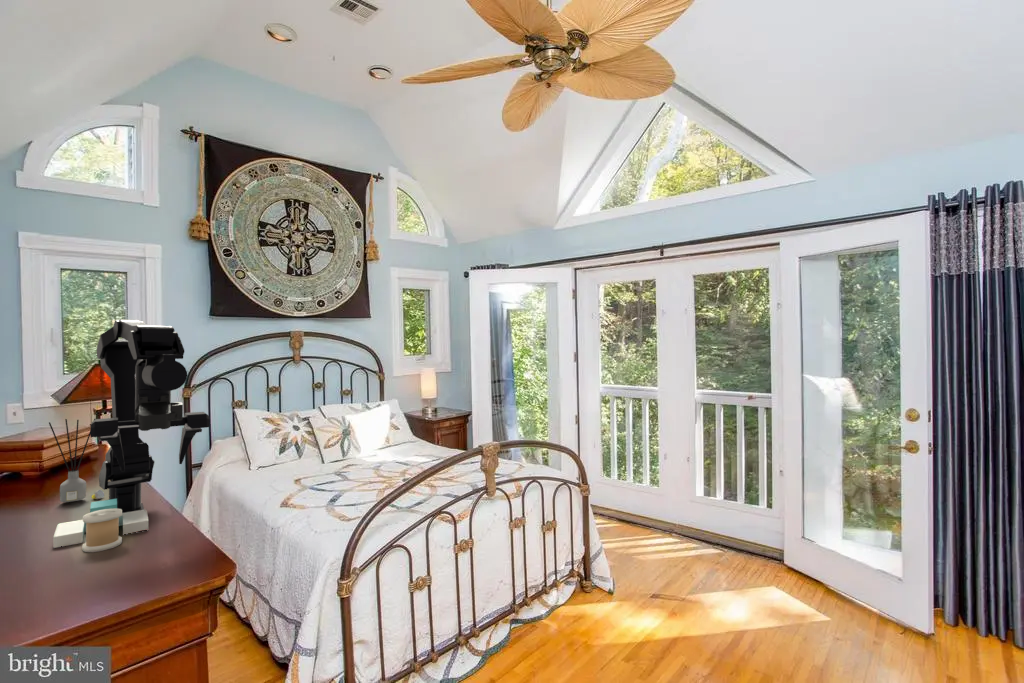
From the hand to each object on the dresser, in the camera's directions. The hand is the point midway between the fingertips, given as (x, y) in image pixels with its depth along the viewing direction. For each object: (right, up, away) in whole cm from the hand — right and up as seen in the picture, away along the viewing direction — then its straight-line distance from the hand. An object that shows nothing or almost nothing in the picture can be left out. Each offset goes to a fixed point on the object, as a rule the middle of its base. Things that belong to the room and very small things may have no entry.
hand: (152, 467), depth 97 cm
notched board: (-10, -13, +1) cm, 17 cm away
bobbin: (-5, -13, -6) cm, 15 cm away
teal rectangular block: (-10, -13, 0) cm, 16 cm away
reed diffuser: (-34, -14, +21) cm, 42 cm away
